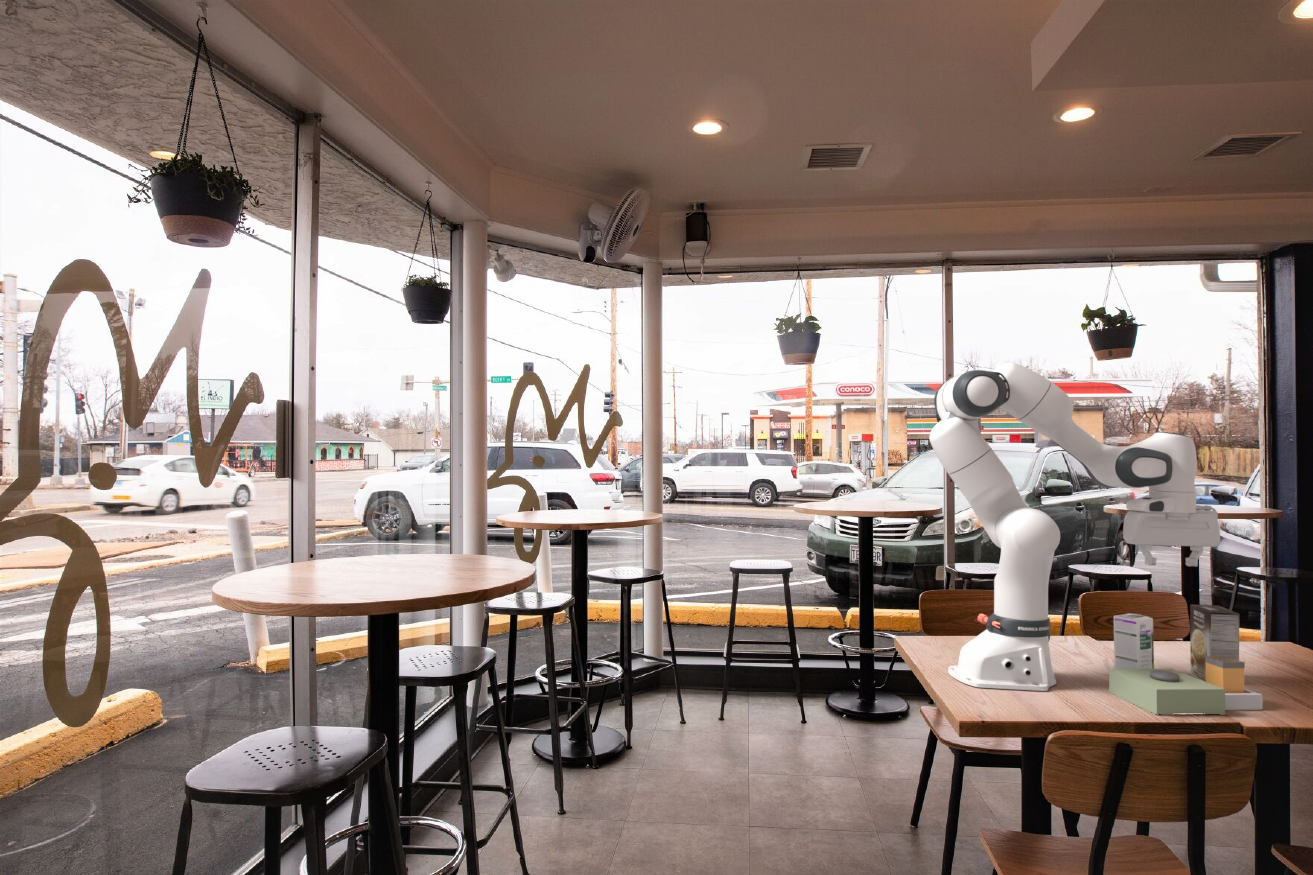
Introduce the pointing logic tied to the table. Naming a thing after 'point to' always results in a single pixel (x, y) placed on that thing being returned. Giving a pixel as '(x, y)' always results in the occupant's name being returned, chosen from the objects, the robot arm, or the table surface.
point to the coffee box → (1212, 635)
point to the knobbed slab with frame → (1177, 692)
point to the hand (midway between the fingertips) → (1171, 565)
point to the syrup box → (1133, 642)
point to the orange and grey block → (1225, 673)
